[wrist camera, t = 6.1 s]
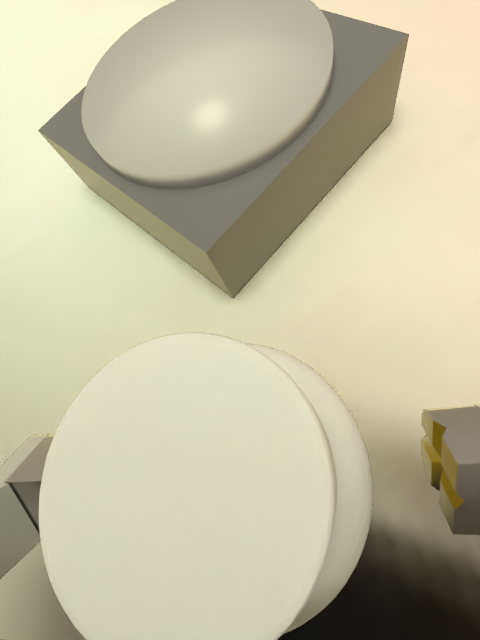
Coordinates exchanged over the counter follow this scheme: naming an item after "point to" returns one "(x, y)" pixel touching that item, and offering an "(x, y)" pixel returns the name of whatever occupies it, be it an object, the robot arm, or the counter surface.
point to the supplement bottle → (203, 494)
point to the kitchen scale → (229, 123)
